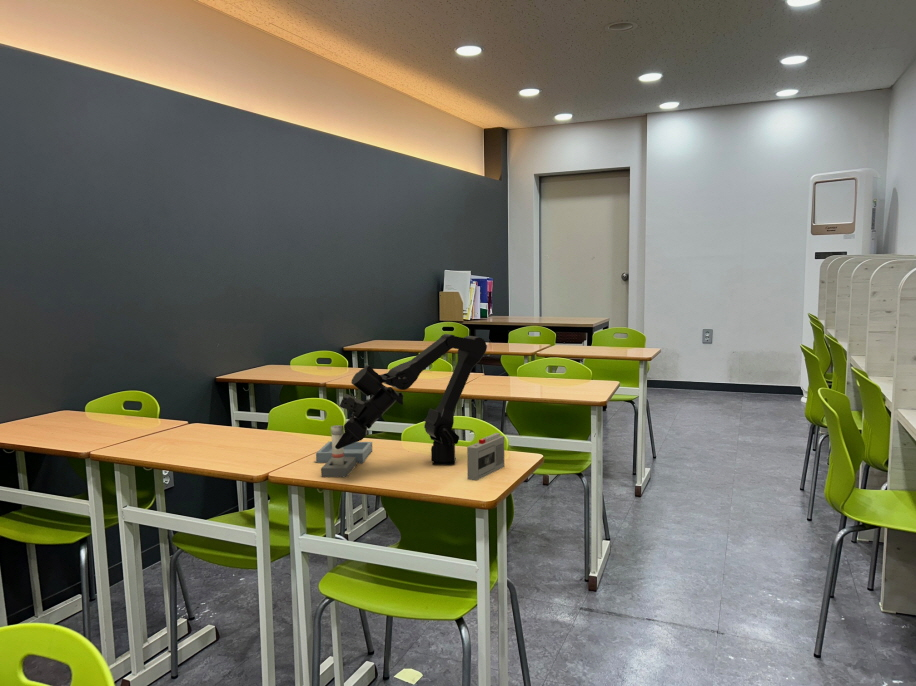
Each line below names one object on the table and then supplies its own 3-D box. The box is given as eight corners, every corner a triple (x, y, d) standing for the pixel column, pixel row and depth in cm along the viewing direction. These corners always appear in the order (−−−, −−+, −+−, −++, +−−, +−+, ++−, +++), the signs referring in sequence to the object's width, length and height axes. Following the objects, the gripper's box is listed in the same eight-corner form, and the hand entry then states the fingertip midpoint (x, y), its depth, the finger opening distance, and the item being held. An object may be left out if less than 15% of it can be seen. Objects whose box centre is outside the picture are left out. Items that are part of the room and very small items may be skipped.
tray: (372, 451, 208) (372, 441, 207) (362, 463, 194) (362, 453, 193) (329, 450, 209) (328, 441, 208) (316, 462, 195) (316, 452, 194)
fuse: (345, 470, 187) (344, 425, 185) (342, 473, 183) (341, 428, 182) (334, 470, 187) (332, 425, 186) (330, 473, 184) (329, 428, 182)
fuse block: (356, 465, 192) (356, 456, 192) (346, 477, 180) (346, 468, 180) (332, 464, 192) (332, 456, 192) (321, 477, 180) (321, 468, 180)
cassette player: (476, 481, 176) (475, 444, 175) (467, 479, 177) (467, 443, 176) (504, 467, 189) (504, 432, 188) (496, 465, 190) (496, 431, 189)
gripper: (361, 380, 192) (324, 417, 193) (352, 390, 173) (311, 431, 174) (388, 406, 193) (351, 443, 194) (382, 419, 174) (341, 460, 175)
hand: (338, 443), depth 184 cm, fingers open, 9 cm apart
